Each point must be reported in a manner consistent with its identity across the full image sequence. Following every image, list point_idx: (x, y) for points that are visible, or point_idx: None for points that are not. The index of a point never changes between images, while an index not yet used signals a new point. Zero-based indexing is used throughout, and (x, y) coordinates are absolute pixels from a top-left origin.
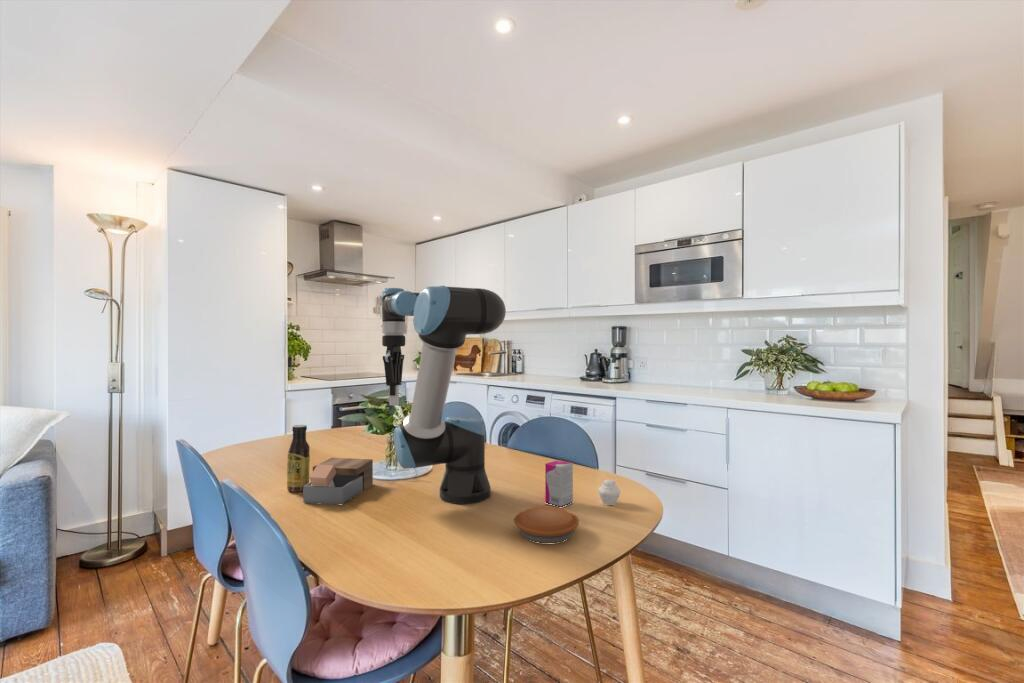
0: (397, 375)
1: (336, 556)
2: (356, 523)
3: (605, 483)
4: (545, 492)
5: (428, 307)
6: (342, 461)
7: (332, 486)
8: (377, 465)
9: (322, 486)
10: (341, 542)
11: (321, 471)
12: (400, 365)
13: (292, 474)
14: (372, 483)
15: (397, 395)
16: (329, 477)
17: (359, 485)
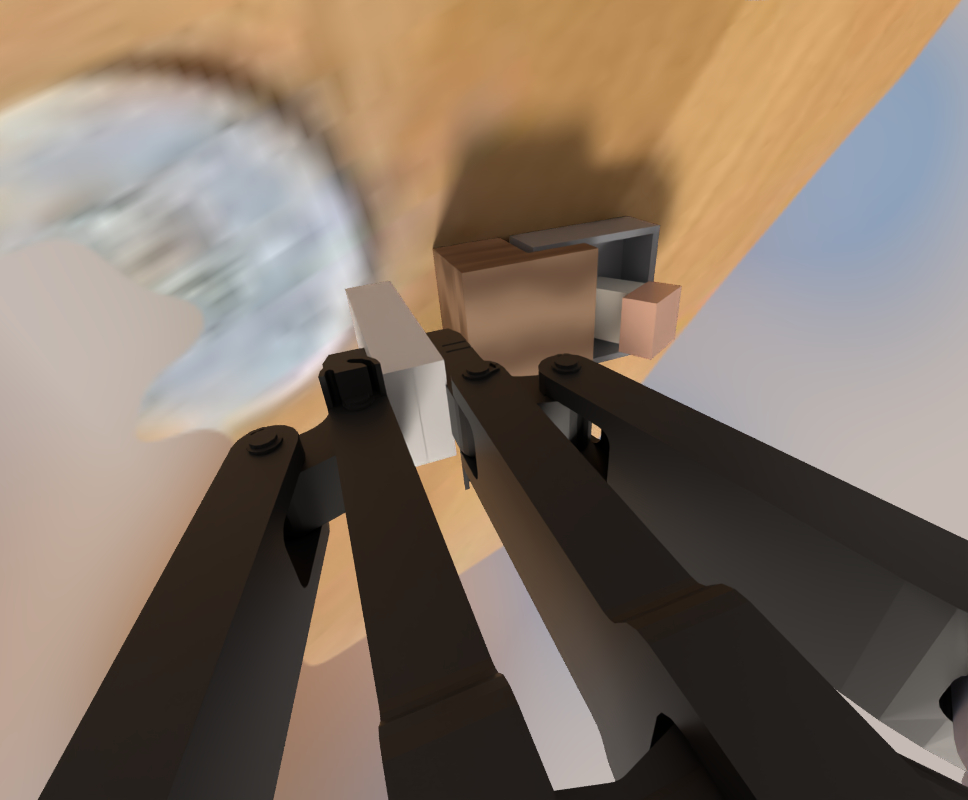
0: (420, 484)
1: (905, 12)
2: (747, 80)
3: None
4: None
5: None
6: (516, 364)
7: (614, 286)
8: (194, 390)
9: None
10: (844, 48)
11: (666, 321)
12: (193, 789)
13: None
14: (435, 248)
15: (400, 314)
16: (658, 288)
17: (541, 237)
